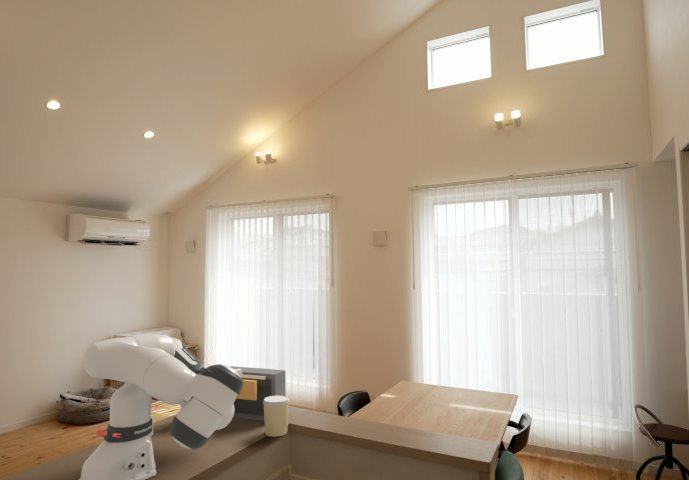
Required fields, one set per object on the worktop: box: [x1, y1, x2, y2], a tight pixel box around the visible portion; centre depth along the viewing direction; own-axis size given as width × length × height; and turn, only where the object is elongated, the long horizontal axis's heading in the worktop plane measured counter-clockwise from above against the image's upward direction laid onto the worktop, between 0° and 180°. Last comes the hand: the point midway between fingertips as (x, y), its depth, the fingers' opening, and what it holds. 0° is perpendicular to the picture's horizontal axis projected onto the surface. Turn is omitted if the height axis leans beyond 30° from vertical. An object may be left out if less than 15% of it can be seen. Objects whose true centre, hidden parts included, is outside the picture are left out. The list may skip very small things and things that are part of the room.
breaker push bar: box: [236, 379, 257, 400], centre depth 174 cm, size 3×16×7 cm, turn 69°
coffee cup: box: [263, 395, 290, 438], centre depth 163 cm, size 9×9×12 cm
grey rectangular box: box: [229, 365, 286, 422], centre depth 182 cm, size 9×26×18 cm, turn 69°
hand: (227, 369), depth 168 cm, fingers open, 8 cm apart
